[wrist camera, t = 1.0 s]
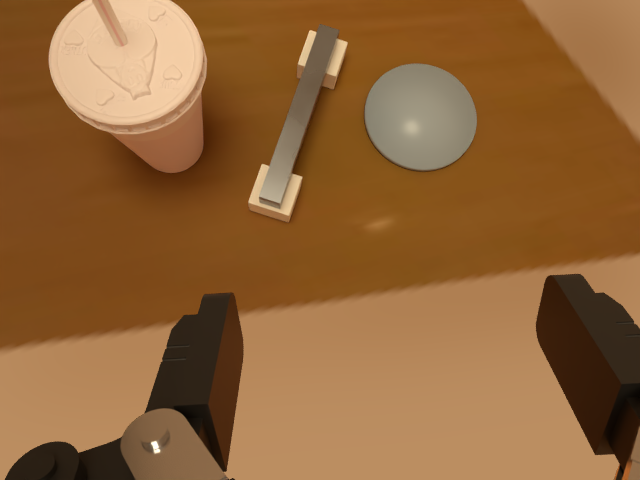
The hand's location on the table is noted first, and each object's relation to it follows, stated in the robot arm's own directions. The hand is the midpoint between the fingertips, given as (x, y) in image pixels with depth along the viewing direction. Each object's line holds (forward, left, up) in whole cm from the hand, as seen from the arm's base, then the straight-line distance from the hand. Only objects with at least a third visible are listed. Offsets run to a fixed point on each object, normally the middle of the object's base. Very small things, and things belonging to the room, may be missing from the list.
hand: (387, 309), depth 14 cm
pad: (+5, +13, -16) cm, 22 cm away
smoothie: (-10, +11, -17) cm, 22 cm away
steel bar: (-2, +12, -15) cm, 19 cm away
